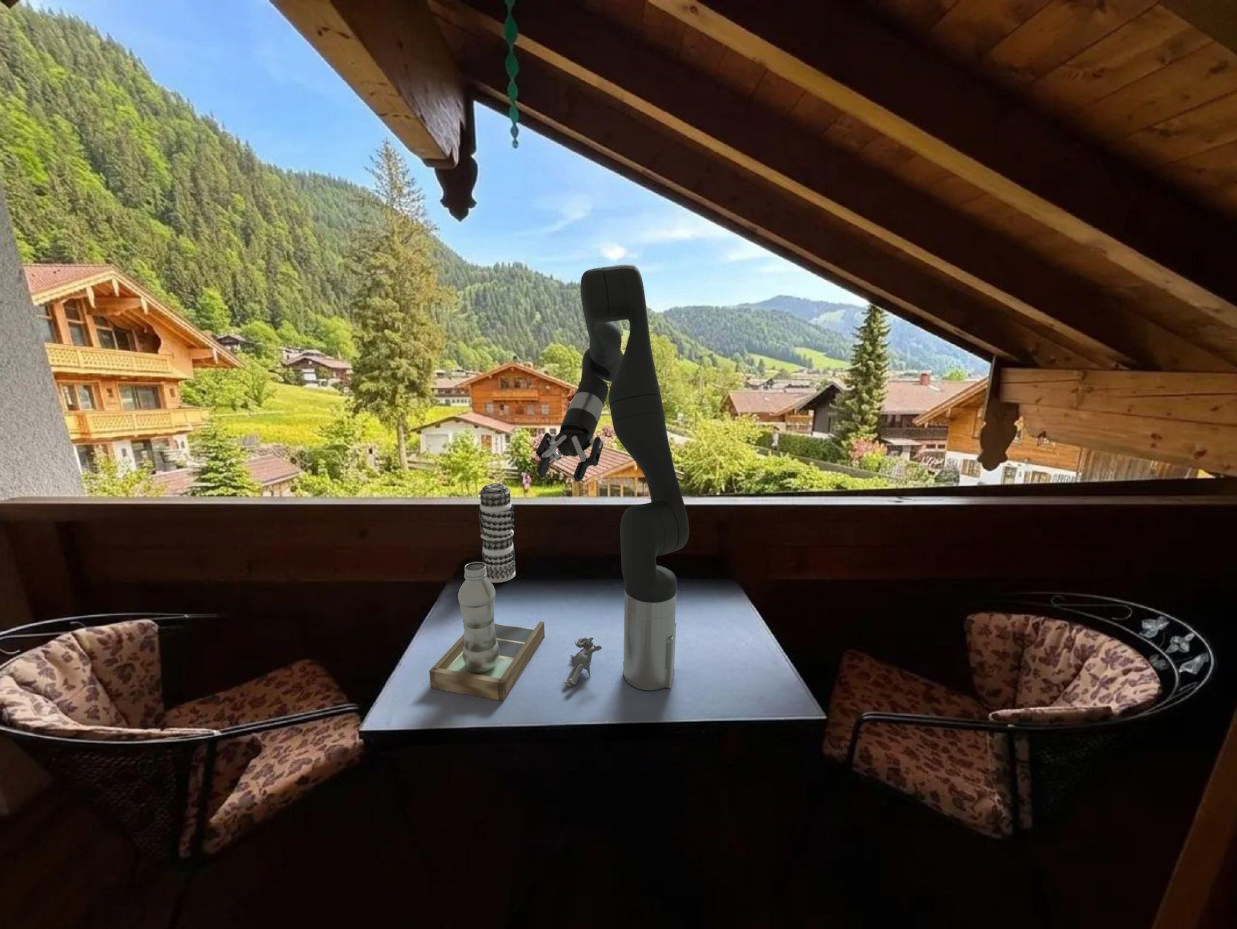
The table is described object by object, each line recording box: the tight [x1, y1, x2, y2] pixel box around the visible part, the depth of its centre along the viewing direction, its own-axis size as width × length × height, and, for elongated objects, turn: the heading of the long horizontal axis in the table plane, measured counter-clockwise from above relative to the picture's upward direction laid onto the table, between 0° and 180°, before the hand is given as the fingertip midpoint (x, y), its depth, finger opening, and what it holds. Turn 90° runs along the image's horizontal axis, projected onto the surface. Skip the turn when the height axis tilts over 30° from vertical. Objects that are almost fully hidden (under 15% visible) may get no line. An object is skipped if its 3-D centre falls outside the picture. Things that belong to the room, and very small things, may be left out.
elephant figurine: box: [563, 636, 603, 688], centre depth 85 cm, size 10×6×9 cm
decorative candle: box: [476, 482, 516, 584], centre depth 121 cm, size 9×9×25 cm
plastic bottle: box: [457, 561, 500, 673], centre depth 83 cm, size 6×7×20 cm
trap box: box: [428, 621, 546, 702], centre depth 89 cm, size 14×19×4 cm
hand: (558, 477), depth 97 cm, fingers open, 8 cm apart
